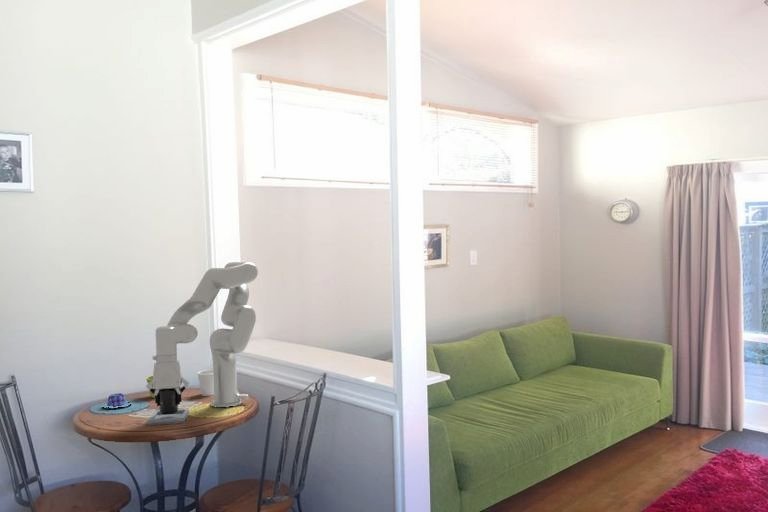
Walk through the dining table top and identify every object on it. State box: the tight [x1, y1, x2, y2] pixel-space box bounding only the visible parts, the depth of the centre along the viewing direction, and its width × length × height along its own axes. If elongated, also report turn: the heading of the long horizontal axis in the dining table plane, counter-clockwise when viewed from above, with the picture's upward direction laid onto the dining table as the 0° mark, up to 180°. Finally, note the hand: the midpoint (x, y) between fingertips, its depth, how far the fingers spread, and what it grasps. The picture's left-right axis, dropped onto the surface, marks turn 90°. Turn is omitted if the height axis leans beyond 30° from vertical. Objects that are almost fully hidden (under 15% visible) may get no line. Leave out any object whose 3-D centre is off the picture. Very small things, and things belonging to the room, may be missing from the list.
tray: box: [147, 408, 190, 426], centre depth 258 cm, size 13×13×2 cm
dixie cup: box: [196, 369, 214, 397], centre depth 297 cm, size 8×8×10 cm
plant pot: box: [145, 375, 156, 399], centre depth 296 cm, size 9×9×9 cm
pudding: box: [106, 392, 127, 407], centre depth 280 cm, size 12×12×5 cm
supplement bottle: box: [158, 388, 179, 415], centre depth 257 cm, size 7×7×12 cm
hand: (168, 404), depth 257 cm, fingers closed on supplement bottle, 6 cm apart
